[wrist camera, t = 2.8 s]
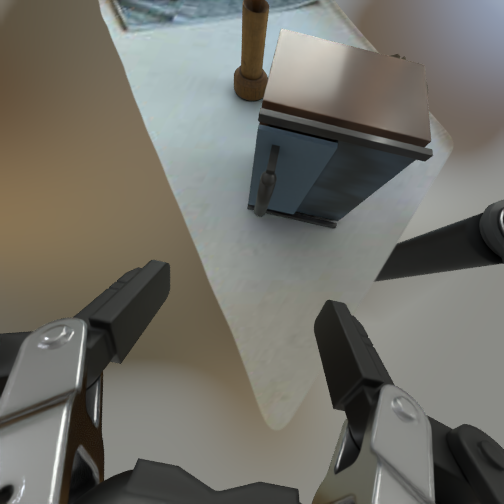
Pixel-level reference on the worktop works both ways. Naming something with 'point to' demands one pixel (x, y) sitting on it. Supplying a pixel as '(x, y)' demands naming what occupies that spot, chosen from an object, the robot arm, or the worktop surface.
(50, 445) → the robot arm
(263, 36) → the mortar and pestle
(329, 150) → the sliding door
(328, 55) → the cupboard
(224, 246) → the worktop surface
